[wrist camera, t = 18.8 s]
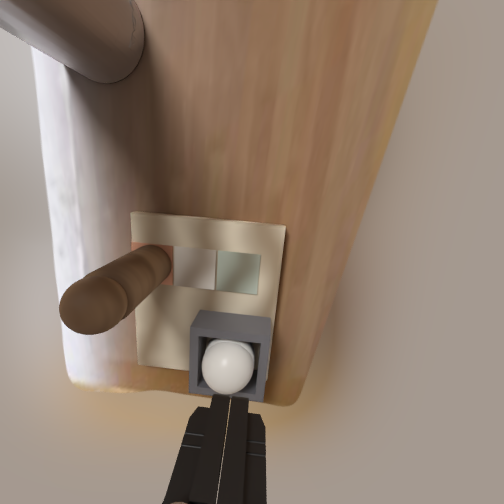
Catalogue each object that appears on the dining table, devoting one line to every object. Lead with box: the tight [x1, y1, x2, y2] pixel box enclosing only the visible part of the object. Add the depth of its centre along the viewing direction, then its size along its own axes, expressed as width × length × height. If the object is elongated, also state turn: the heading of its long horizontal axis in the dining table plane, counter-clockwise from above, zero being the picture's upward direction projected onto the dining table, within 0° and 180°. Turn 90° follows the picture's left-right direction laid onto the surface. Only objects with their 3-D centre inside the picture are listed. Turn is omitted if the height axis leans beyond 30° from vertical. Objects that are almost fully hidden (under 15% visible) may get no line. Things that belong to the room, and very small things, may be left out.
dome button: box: [202, 338, 255, 394], centre depth 28 cm, size 6×6×6 cm
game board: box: [131, 211, 286, 380], centre depth 31 cm, size 18×21×2 cm
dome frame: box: [189, 310, 271, 402], centre depth 30 cm, size 9×9×4 cm
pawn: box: [59, 245, 172, 335], centre depth 23 cm, size 5×5×13 cm
